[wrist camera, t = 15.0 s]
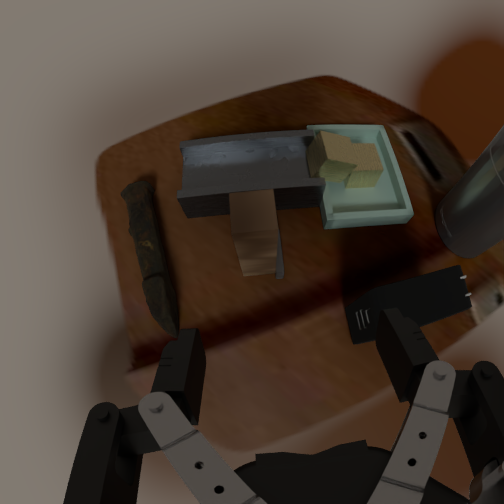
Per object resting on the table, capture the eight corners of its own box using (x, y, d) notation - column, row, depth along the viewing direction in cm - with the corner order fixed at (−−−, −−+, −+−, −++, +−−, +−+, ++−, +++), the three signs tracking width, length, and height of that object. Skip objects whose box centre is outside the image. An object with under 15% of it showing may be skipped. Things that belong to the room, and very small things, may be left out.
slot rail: (309, 154, 40) (313, 129, 35) (319, 206, 37) (326, 185, 32) (188, 164, 40) (180, 141, 36) (187, 218, 38) (176, 198, 33)
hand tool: (129, 201, 39) (114, 183, 35) (156, 191, 39) (144, 172, 35) (156, 343, 33) (139, 340, 29) (188, 334, 33) (176, 331, 29)
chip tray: (378, 136, 41) (382, 125, 38) (406, 223, 36) (414, 214, 34) (305, 137, 41) (306, 125, 39) (323, 229, 36) (327, 220, 34)
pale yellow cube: (333, 156, 37) (349, 137, 34) (340, 183, 36) (358, 164, 32) (305, 151, 36) (320, 130, 32) (311, 178, 35) (327, 158, 31)
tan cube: (338, 162, 39) (366, 161, 38) (345, 188, 37) (374, 187, 37) (344, 143, 35) (374, 143, 35) (352, 170, 33) (383, 169, 33)
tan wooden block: (278, 237, 36) (282, 181, 25) (283, 278, 34) (290, 236, 23) (241, 241, 36) (228, 186, 25) (244, 281, 35) (232, 241, 23)
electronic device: (342, 308, 33) (370, 287, 24) (419, 288, 33) (463, 262, 24) (351, 345, 32) (383, 338, 22) (427, 322, 32) (475, 306, 22)
